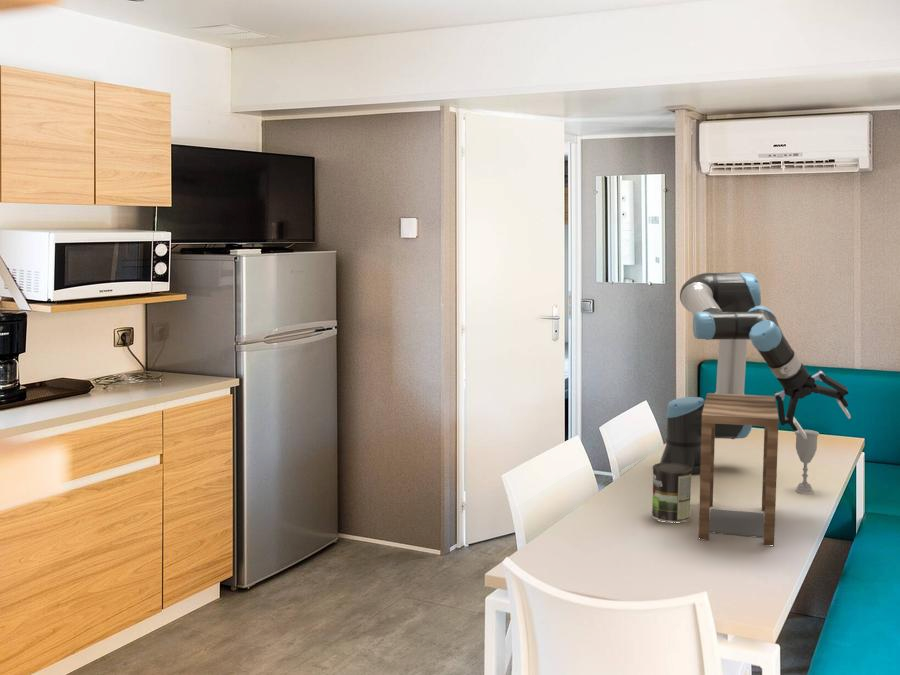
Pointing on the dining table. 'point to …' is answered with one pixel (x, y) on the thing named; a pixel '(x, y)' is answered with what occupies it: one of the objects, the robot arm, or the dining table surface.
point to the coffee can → (671, 492)
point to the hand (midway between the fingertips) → (826, 425)
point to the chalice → (806, 456)
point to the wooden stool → (763, 414)
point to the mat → (736, 522)
